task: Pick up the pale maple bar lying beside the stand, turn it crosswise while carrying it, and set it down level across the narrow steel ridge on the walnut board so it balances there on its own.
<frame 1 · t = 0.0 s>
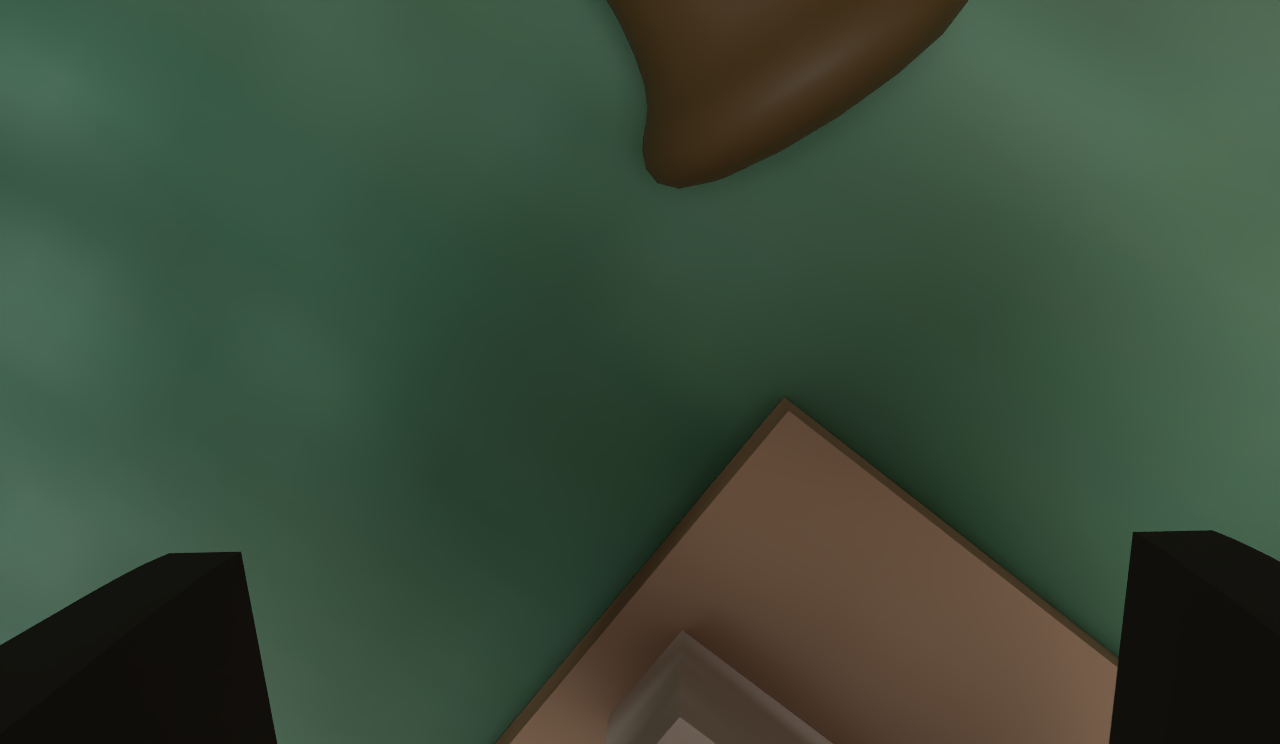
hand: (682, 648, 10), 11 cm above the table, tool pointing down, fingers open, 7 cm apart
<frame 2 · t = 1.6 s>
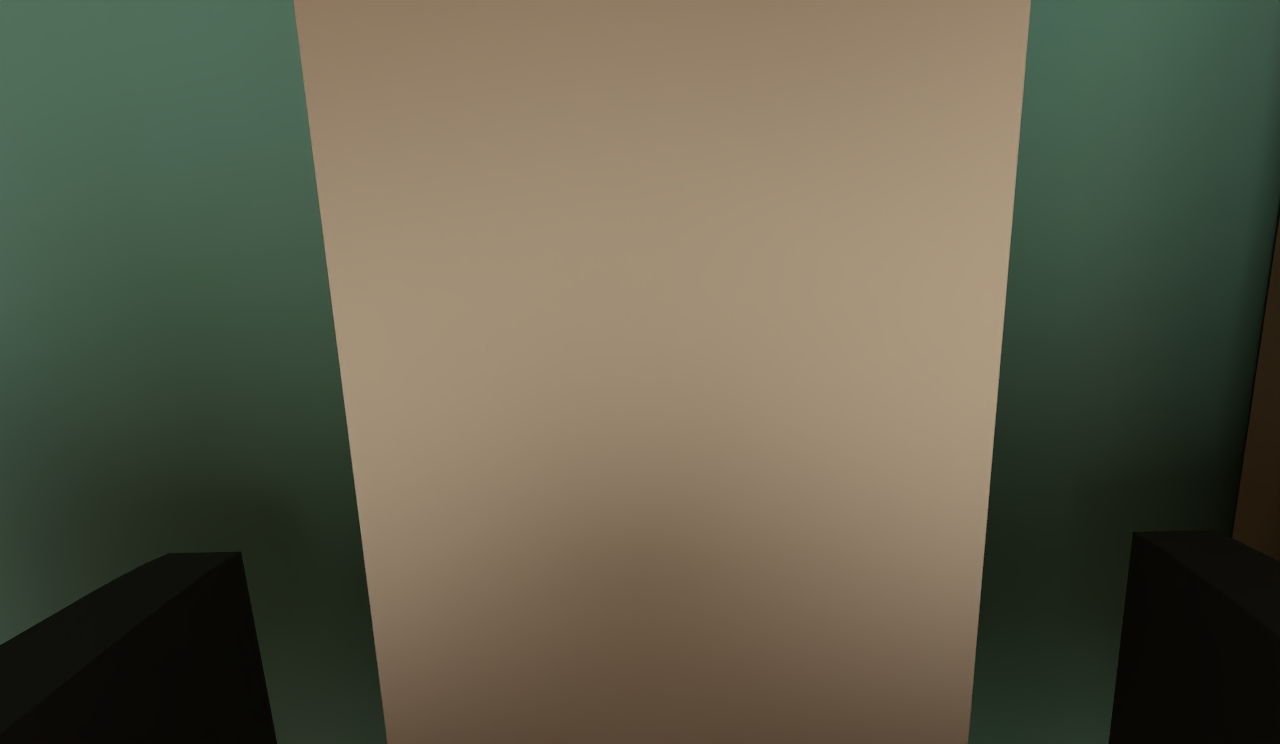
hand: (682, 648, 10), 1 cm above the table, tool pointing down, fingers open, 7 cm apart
maple bar: (682, 544, 11), on the table
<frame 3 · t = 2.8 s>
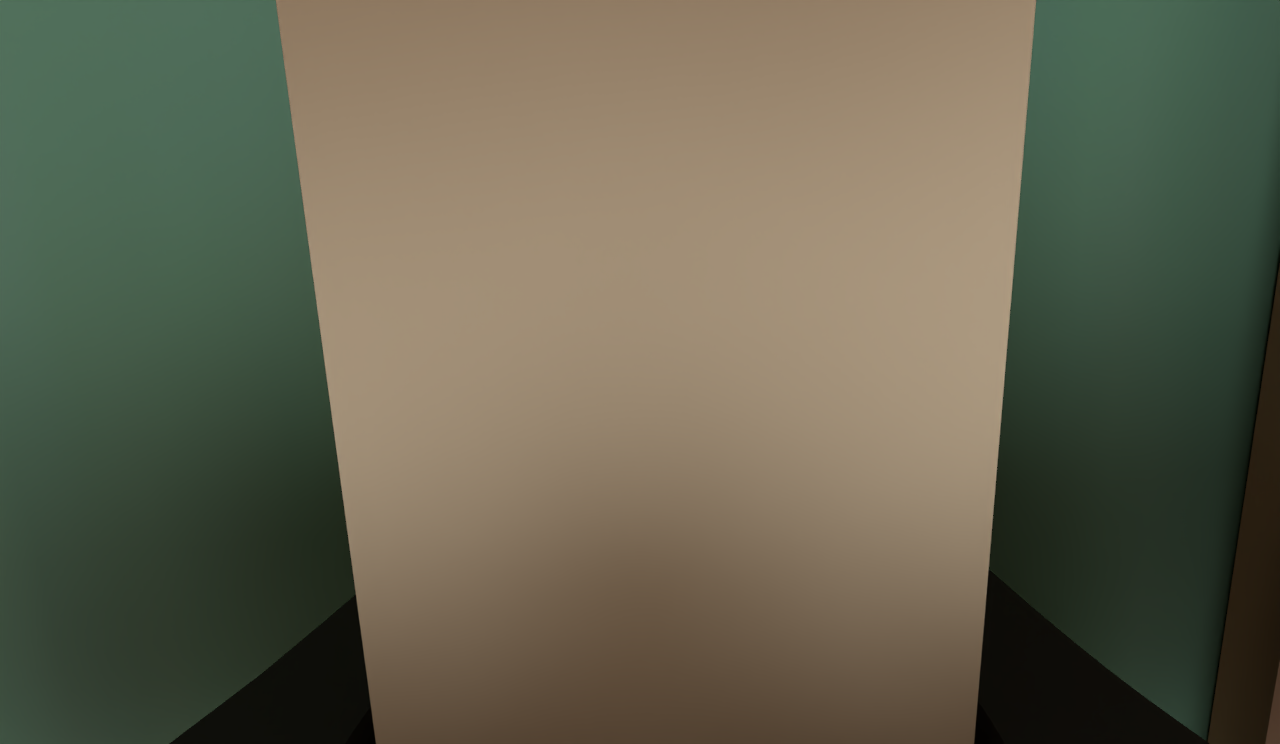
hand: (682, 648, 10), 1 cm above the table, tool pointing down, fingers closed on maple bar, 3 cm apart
maple bar: (682, 550, 11), on the table, touching gripper
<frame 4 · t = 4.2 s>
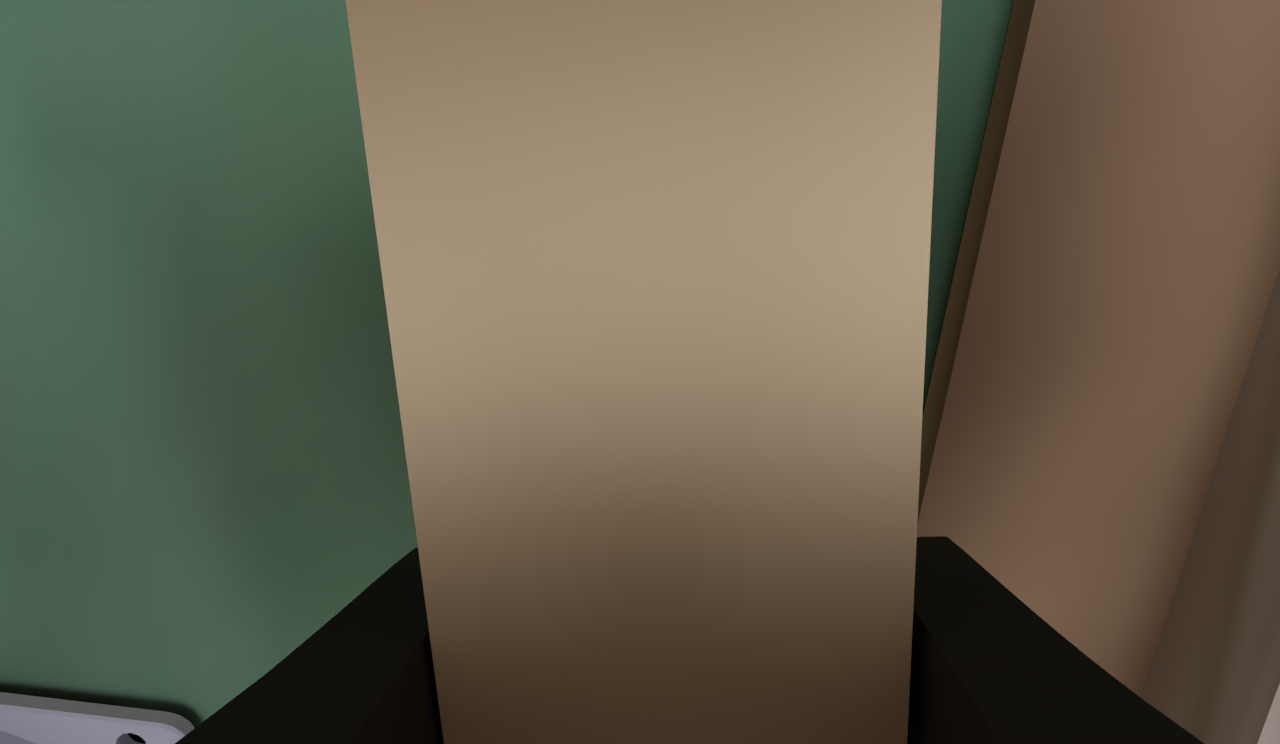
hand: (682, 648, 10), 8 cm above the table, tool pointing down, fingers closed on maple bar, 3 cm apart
maple bar: (681, 476, 13), point 5 cm above the table, touching gripper
ridge stand: (1253, 448, 18), on the table
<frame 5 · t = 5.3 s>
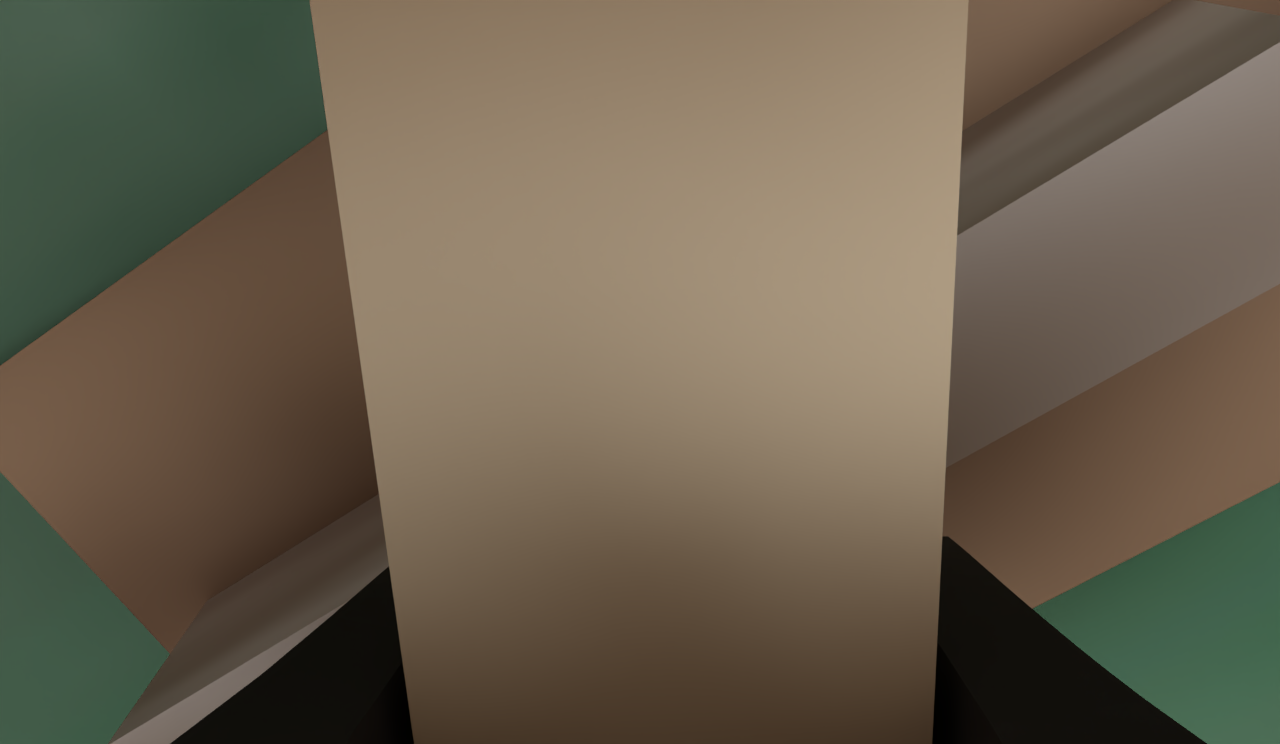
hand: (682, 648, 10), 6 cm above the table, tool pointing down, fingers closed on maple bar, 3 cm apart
maple bar: (681, 503, 12), point 4 cm above the table, touching gripper, ridge stand
ridge stand: (683, 367, 16), on the table
when the fingers open (6 cm above the table, at t = 6.1 s): maple bar stays where it is, resting on ridge stand.
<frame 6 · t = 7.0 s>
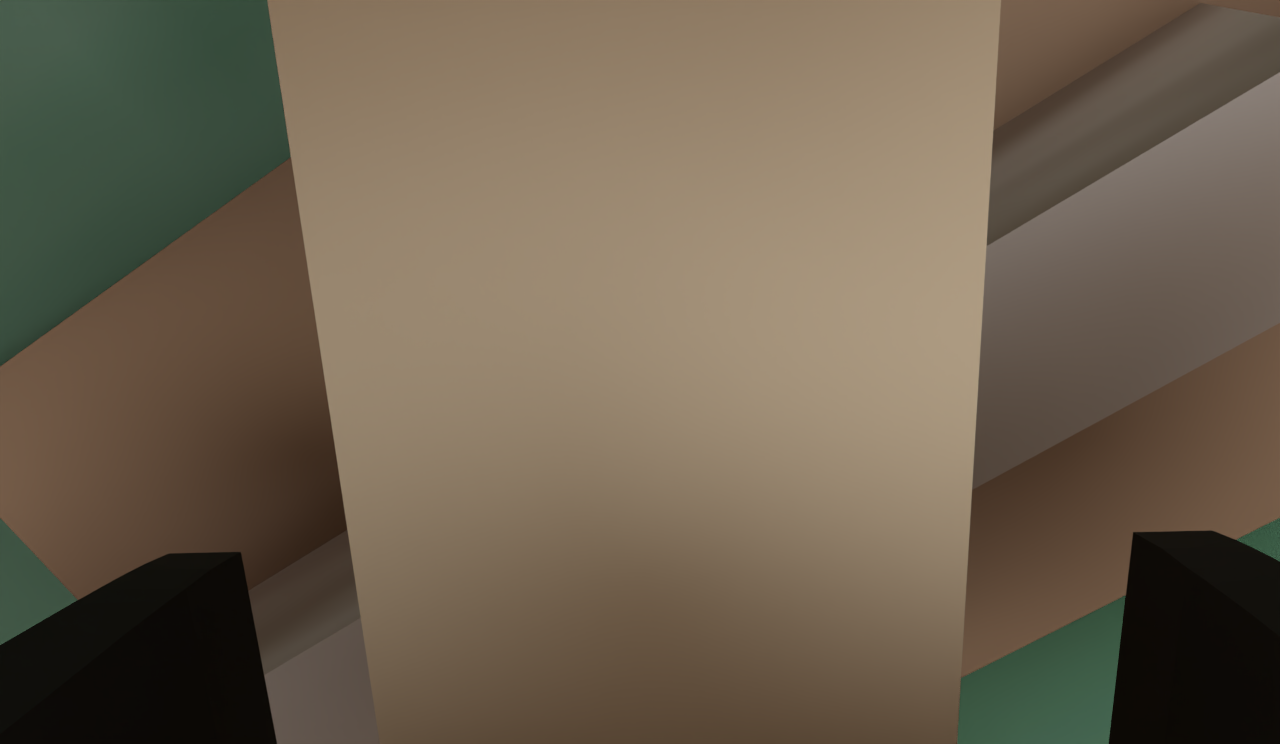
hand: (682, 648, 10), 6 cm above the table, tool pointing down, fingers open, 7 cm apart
maple bar: (681, 533, 11), point 4 cm above the table, touching ridge stand
ridge stand: (684, 385, 15), on the table
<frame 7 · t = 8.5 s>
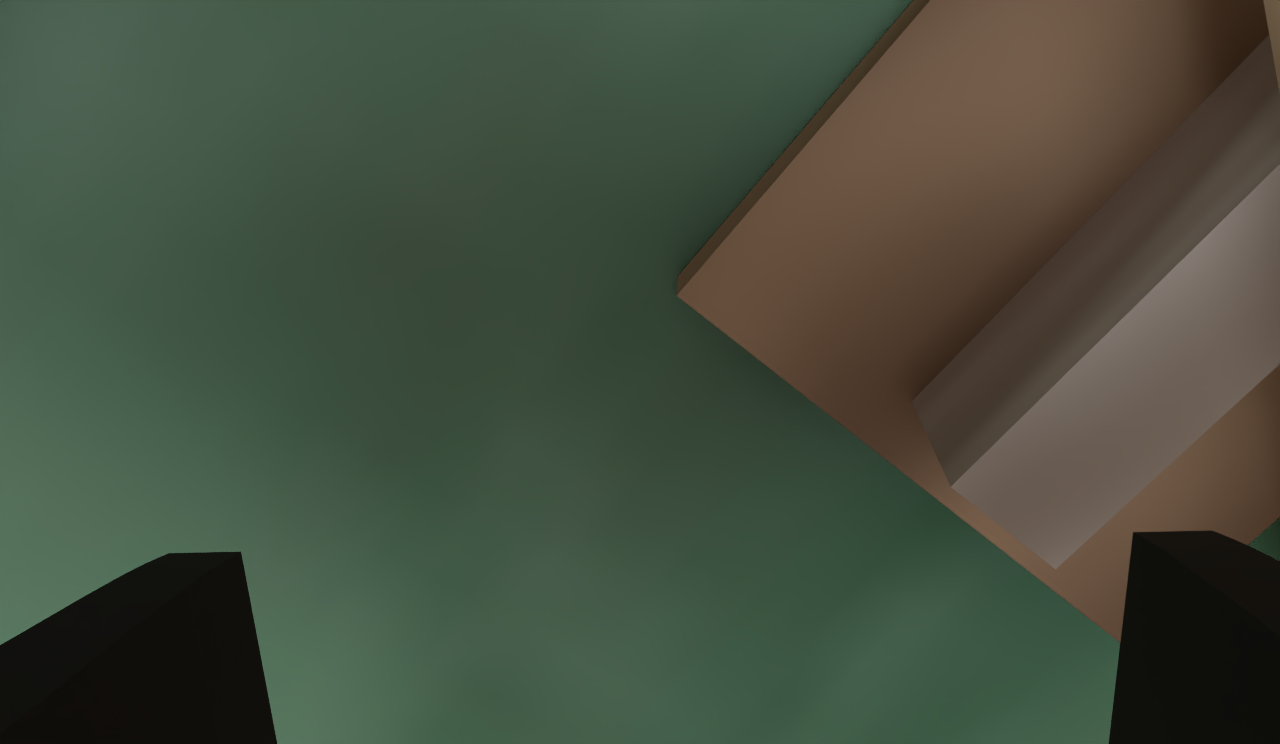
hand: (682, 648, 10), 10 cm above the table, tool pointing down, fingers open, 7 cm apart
ridge stand: (1271, 84, 18), on the table
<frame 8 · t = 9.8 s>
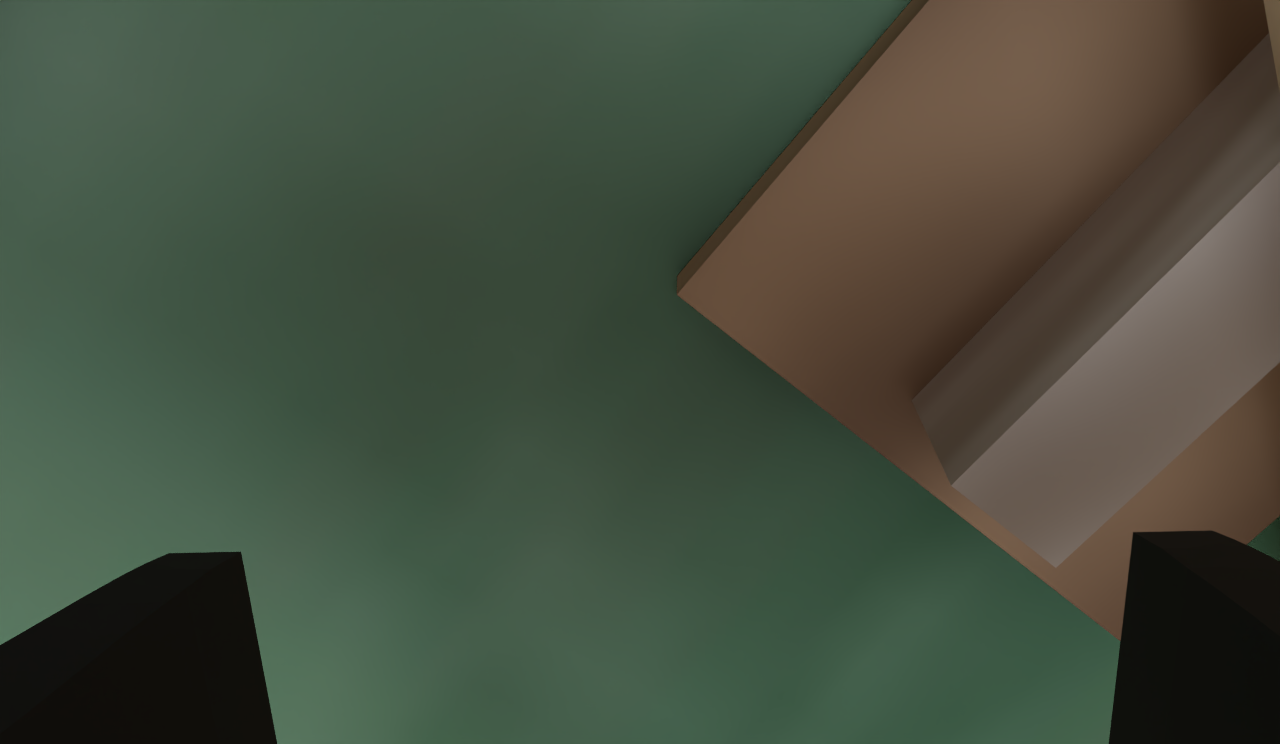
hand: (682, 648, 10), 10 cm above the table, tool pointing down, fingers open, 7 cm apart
ridge stand: (1270, 82, 18), on the table
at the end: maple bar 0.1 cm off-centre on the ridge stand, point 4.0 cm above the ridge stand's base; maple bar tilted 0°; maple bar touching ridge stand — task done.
